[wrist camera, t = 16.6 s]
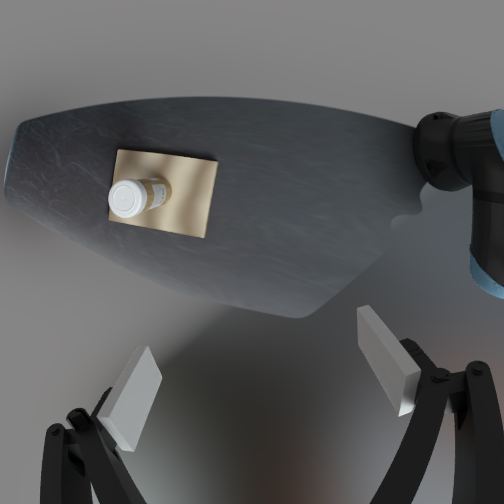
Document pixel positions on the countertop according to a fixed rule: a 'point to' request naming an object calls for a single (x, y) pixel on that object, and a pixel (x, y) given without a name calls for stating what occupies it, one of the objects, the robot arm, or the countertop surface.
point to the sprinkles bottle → (138, 195)
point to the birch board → (183, 190)
